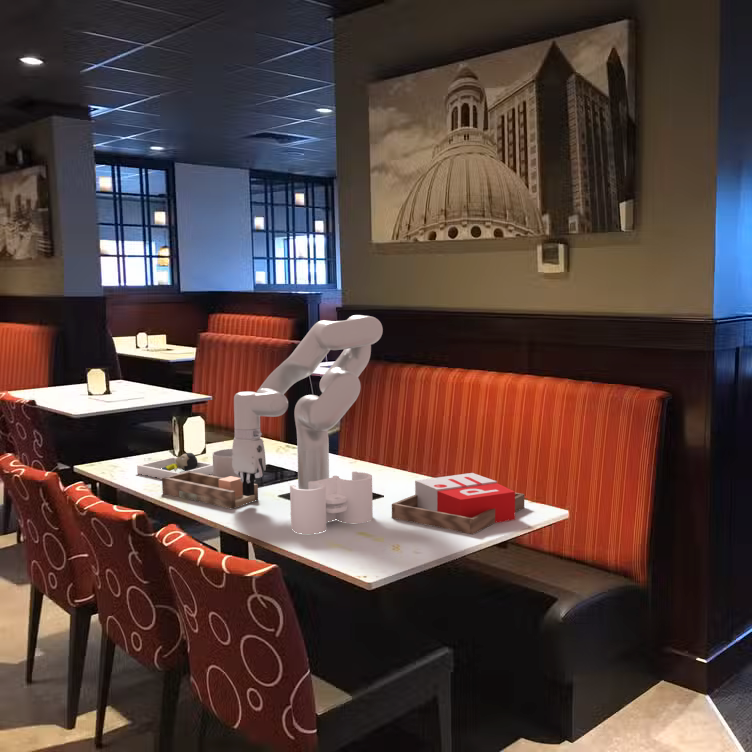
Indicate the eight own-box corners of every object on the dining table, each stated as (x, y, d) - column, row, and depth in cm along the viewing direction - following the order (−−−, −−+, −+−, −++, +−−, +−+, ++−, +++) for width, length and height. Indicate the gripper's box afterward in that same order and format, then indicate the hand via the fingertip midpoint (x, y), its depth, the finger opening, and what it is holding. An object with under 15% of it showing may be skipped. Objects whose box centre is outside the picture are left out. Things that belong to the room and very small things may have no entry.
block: (242, 494, 249) (242, 478, 249) (230, 498, 245) (230, 481, 245) (231, 492, 252) (230, 476, 252) (219, 495, 248) (218, 479, 248)
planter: (258, 485, 268) (258, 454, 266) (220, 490, 262) (219, 458, 260) (245, 477, 279) (244, 447, 278) (208, 482, 273) (207, 451, 271)
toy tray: (215, 473, 285) (215, 464, 285) (179, 482, 272) (179, 473, 272) (173, 464, 298) (173, 456, 298) (137, 473, 285) (137, 465, 285)
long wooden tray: (258, 500, 250) (257, 484, 249) (231, 508, 241) (231, 492, 240) (189, 485, 268) (188, 470, 267) (162, 493, 259) (161, 477, 259)
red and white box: (520, 489, 227) (458, 498, 218) (519, 519, 228) (458, 529, 219) (472, 472, 248) (414, 480, 239) (472, 500, 249) (414, 508, 240)
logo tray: (524, 507, 239) (524, 494, 239) (473, 534, 215) (473, 519, 215) (447, 494, 254) (447, 481, 254) (391, 517, 230) (391, 503, 230)
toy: (149, 466, 284) (188, 447, 292) (155, 482, 286) (194, 464, 294) (158, 471, 277) (198, 452, 284) (165, 488, 279) (204, 468, 286)
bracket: (307, 538, 214) (306, 492, 212) (286, 529, 221) (285, 485, 220) (380, 518, 230) (379, 476, 229) (358, 511, 237) (357, 470, 236)
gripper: (275, 434, 240) (275, 496, 242) (238, 429, 249) (239, 488, 251) (256, 438, 234) (257, 501, 236) (220, 433, 243) (221, 493, 245)
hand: (248, 494), depth 244 cm, fingers closed
